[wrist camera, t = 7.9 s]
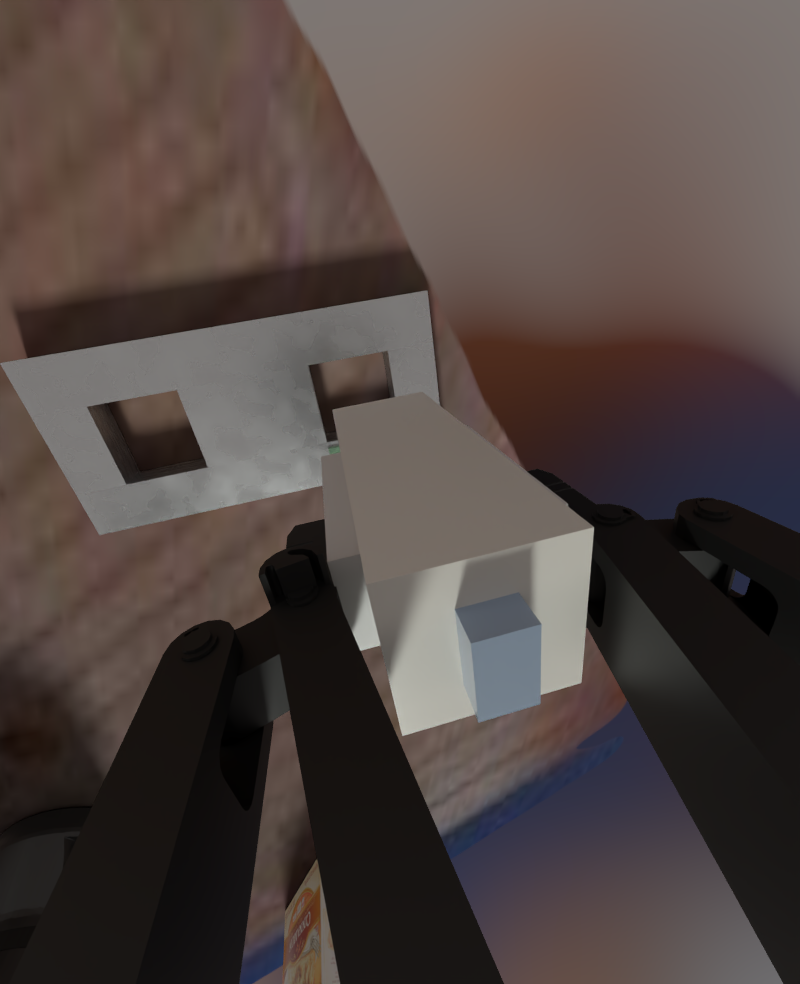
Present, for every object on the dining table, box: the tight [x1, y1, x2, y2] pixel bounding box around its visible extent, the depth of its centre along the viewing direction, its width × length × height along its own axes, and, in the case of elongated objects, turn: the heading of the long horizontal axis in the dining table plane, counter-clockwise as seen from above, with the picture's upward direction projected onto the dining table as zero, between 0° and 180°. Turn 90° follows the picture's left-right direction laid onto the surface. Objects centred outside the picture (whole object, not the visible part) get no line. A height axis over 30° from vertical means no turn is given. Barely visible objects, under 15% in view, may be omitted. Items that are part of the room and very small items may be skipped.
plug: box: [332, 392, 594, 736], centre depth 12 cm, size 4×4×13 cm
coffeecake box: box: [283, 859, 340, 984], centre depth 51 cm, size 15×7×20 cm, turn 154°
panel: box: [0, 290, 440, 535], centre depth 28 cm, size 26×12×3 cm, turn 98°
